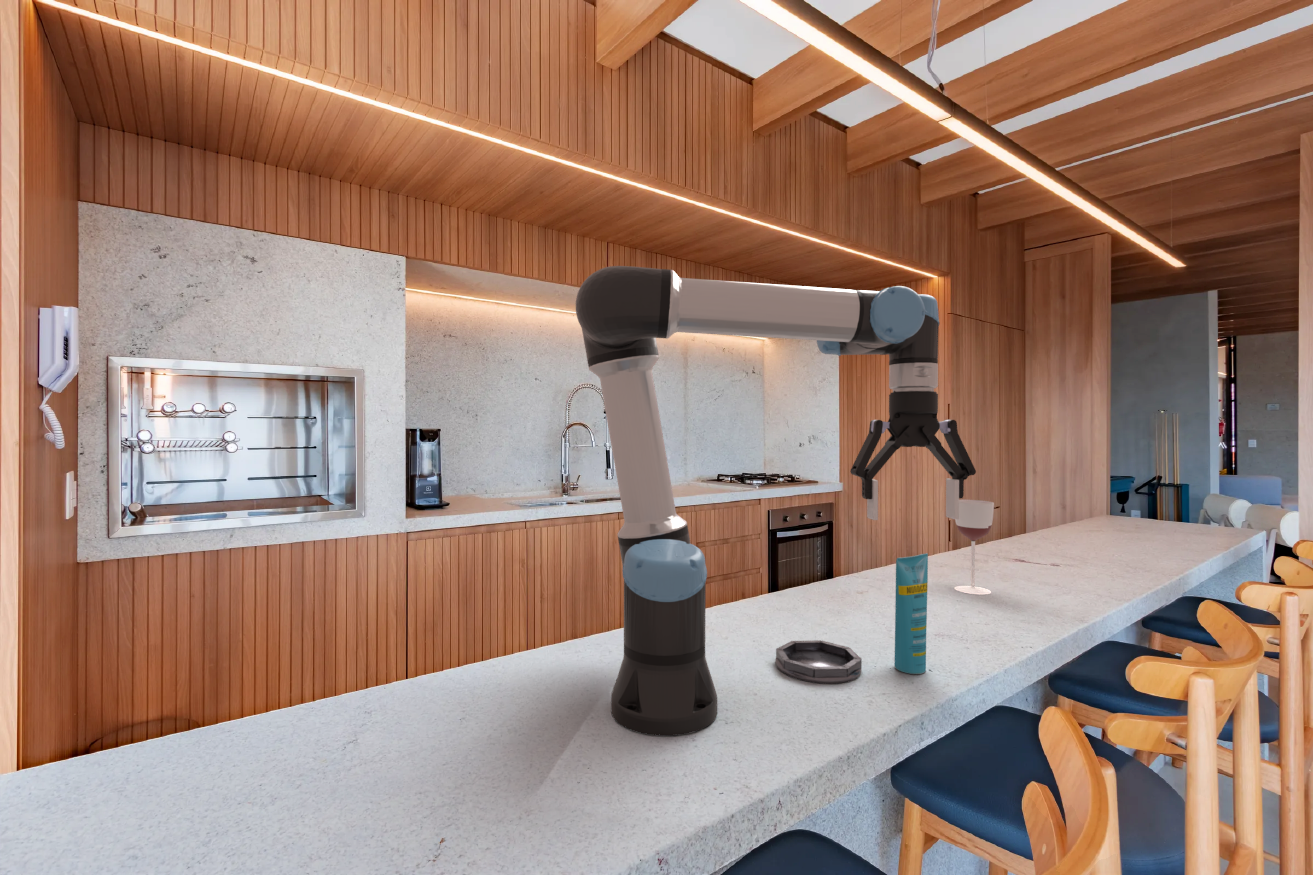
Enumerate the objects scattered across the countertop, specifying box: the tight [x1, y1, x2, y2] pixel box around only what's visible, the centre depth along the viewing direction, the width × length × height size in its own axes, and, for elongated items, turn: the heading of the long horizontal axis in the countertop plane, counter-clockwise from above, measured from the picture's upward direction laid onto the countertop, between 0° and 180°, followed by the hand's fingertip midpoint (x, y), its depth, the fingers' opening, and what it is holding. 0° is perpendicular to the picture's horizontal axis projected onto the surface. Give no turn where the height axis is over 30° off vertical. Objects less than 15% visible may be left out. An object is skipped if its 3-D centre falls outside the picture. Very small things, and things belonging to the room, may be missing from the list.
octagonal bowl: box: [775, 639, 863, 685], centre depth 105 cm, size 14×14×2 cm
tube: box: [894, 552, 929, 675], centre depth 104 cm, size 7×5×19 cm, turn 123°
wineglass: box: [954, 499, 995, 596], centre depth 155 cm, size 9×10×22 cm
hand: (912, 518), depth 103 cm, fingers open, 13 cm apart
